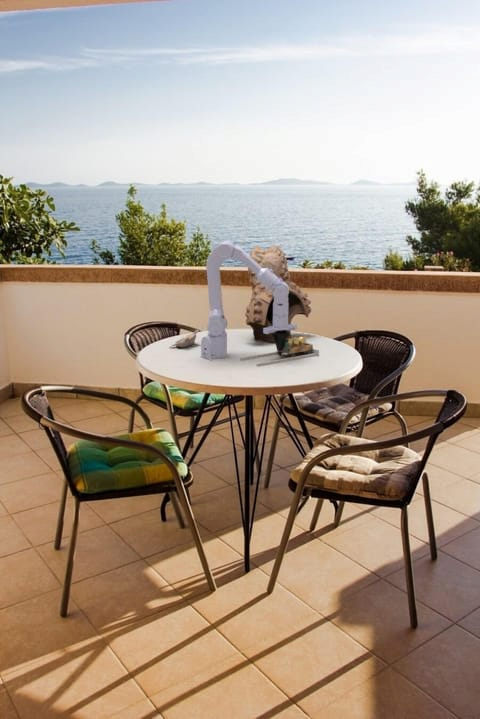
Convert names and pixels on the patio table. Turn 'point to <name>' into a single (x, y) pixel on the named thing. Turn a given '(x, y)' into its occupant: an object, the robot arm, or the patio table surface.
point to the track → (314, 353)
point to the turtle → (186, 340)
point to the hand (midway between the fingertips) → (279, 350)
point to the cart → (295, 349)
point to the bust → (263, 299)
